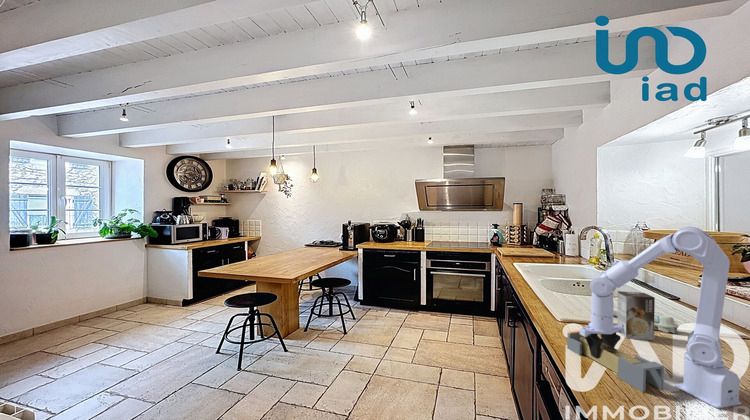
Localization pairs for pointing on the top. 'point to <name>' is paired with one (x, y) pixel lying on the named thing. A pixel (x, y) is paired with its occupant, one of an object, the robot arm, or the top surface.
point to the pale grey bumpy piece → (659, 322)
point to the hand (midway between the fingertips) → (600, 356)
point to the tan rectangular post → (607, 355)
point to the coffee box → (636, 315)
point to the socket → (574, 341)
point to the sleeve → (641, 373)
